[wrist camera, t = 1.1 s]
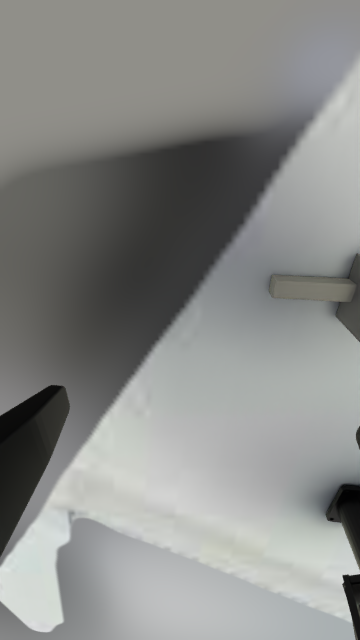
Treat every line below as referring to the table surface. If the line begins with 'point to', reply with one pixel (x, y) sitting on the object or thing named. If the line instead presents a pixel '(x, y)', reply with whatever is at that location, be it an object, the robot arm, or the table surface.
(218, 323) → the table surface
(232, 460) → the table surface
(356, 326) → the plug
